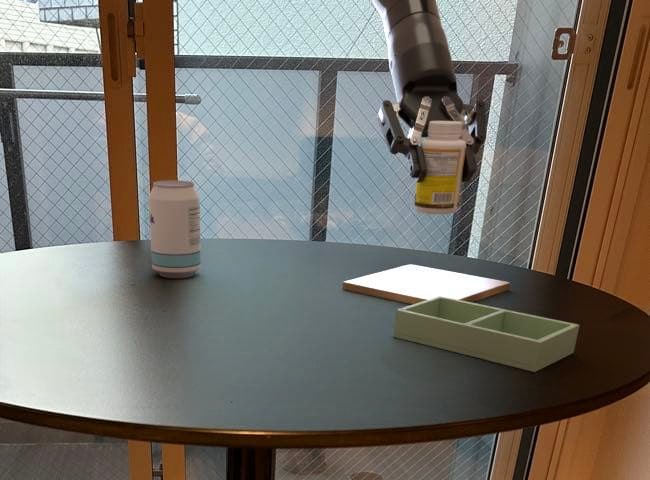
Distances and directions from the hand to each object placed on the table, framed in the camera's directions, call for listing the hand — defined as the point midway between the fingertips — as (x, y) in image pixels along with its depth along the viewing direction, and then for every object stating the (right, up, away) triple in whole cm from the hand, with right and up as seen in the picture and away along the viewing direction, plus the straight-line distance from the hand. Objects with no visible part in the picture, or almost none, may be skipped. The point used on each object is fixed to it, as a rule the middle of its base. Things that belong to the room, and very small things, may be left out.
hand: (445, 177), depth 99 cm
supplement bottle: (0, -3, +4) cm, 5 cm away
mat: (0, -11, +9) cm, 14 cm away
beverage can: (-35, -7, +16) cm, 39 cm away
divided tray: (+1, -24, -12) cm, 27 cm away
